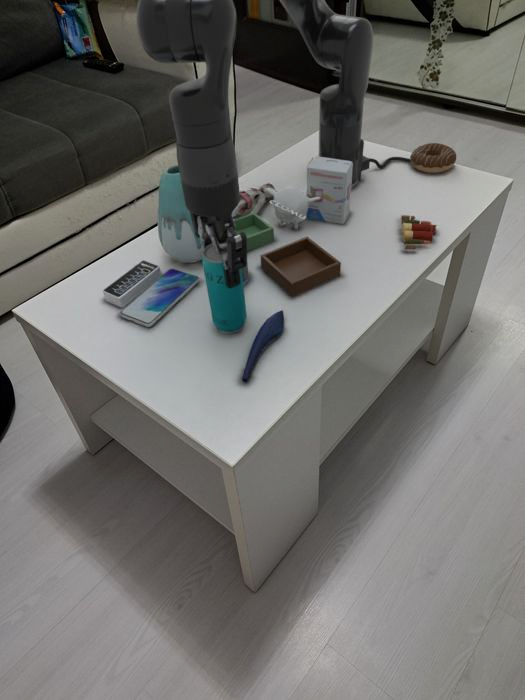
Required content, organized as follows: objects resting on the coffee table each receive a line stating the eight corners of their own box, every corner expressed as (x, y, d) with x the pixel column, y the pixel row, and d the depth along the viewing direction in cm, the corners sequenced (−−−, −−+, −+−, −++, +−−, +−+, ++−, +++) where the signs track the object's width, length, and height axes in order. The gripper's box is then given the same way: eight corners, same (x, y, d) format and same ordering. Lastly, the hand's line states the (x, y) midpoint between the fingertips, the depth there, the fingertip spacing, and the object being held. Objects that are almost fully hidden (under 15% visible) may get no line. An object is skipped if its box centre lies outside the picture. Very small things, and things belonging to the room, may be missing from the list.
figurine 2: (273, 217, 111) (253, 225, 103) (277, 178, 107) (257, 184, 99) (324, 228, 107) (307, 237, 99) (330, 188, 103) (313, 194, 95)
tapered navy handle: (253, 389, 76) (255, 380, 74) (232, 380, 76) (233, 371, 74) (290, 318, 85) (292, 309, 83) (271, 311, 85) (273, 302, 83)
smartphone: (117, 313, 87) (170, 267, 96) (119, 317, 88) (171, 271, 96) (149, 325, 84) (200, 276, 93) (150, 329, 85) (201, 280, 93)
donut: (463, 170, 118) (467, 153, 115) (423, 179, 116) (426, 162, 113) (439, 153, 125) (442, 137, 122) (401, 161, 123) (403, 145, 120)
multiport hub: (105, 300, 91) (101, 290, 90) (145, 269, 97) (143, 259, 96) (122, 308, 89) (118, 298, 88) (162, 275, 95) (160, 265, 94)
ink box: (305, 219, 107) (305, 166, 98) (312, 207, 110) (313, 155, 102) (343, 225, 104) (347, 171, 96) (350, 213, 107) (354, 160, 99)
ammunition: (404, 252, 96) (438, 254, 95) (406, 243, 94) (441, 244, 94) (400, 220, 104) (431, 222, 104) (402, 211, 103) (434, 212, 102)
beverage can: (225, 310, 87) (214, 236, 77) (253, 319, 85) (246, 245, 74) (207, 330, 84) (193, 256, 73) (235, 340, 82) (225, 266, 71)
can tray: (307, 249, 99) (307, 236, 97) (340, 275, 92) (341, 262, 90) (261, 268, 95) (260, 255, 93) (292, 297, 89) (291, 283, 87)
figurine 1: (203, 202, 100) (260, 174, 113) (205, 228, 104) (261, 199, 117) (226, 207, 98) (282, 179, 110) (228, 235, 101) (282, 204, 114)
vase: (152, 255, 101) (130, 170, 88) (194, 230, 106) (179, 147, 93) (189, 277, 95) (172, 189, 82) (232, 249, 100) (222, 163, 88)
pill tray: (255, 224, 106) (254, 212, 104) (274, 240, 102) (273, 228, 100) (223, 236, 104) (222, 223, 102) (241, 253, 99) (240, 240, 97)
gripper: (261, 183, 62) (268, 290, 74) (209, 145, 71) (223, 246, 83) (207, 202, 59) (223, 309, 71) (160, 160, 68) (182, 261, 80)
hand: (223, 274), depth 77 cm, fingers closed on beverage can, 5 cm apart
